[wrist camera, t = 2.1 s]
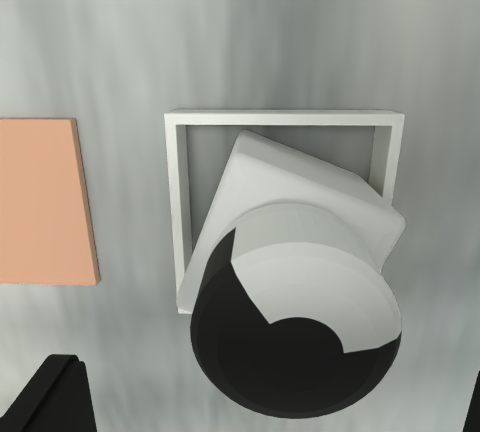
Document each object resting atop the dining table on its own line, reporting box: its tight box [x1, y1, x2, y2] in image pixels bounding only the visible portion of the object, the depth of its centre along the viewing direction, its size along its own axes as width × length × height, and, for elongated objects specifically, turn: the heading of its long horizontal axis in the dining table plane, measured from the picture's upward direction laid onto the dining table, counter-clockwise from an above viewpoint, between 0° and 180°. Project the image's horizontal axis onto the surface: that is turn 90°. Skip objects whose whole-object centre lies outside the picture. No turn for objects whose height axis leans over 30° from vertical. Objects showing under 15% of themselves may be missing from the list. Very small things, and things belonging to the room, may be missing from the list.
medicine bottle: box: [176, 130, 406, 419], centre depth 15 cm, size 7×7×12 cm
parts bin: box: [164, 109, 405, 314], centre depth 20 cm, size 11×11×2 cm
